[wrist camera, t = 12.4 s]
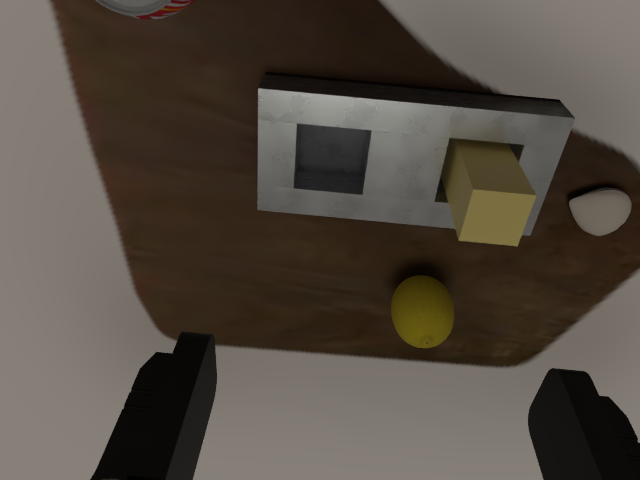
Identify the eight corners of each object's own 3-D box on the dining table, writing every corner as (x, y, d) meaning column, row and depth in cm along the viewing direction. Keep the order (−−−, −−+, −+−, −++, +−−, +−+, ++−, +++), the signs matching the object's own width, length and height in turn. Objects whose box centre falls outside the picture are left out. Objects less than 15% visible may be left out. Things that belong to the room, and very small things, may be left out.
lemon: (455, 291, 50) (469, 355, 44) (401, 309, 52) (408, 372, 45) (435, 250, 47) (447, 311, 41) (379, 270, 49) (382, 331, 43)
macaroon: (602, 229, 45) (613, 246, 43) (550, 213, 45) (559, 230, 43) (633, 188, 43) (647, 204, 41) (579, 171, 42) (590, 187, 40)
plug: (452, 130, 40) (473, 189, 33) (503, 135, 40) (536, 195, 33) (439, 184, 43) (455, 249, 36) (487, 189, 43) (514, 255, 36)
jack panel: (265, 72, 39) (258, 88, 36) (559, 99, 39) (575, 118, 36) (263, 188, 45) (257, 209, 42) (519, 212, 45) (530, 235, 42)
